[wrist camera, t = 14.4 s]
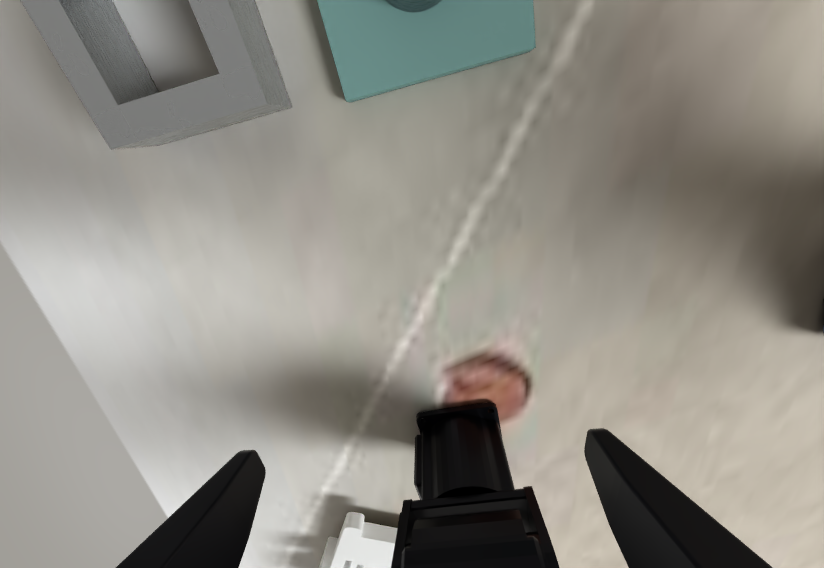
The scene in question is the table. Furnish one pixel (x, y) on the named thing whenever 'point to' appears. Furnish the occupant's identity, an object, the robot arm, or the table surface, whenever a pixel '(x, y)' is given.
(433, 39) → the rubber mat
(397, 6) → the steel rod
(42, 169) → the table surface
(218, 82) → the collar
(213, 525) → the robot arm
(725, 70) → the table surface
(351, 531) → the organizer
